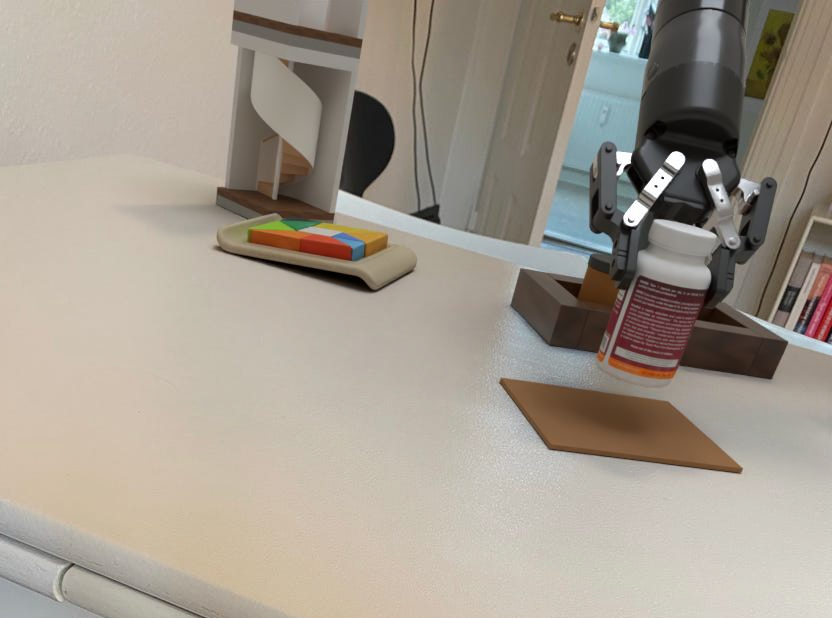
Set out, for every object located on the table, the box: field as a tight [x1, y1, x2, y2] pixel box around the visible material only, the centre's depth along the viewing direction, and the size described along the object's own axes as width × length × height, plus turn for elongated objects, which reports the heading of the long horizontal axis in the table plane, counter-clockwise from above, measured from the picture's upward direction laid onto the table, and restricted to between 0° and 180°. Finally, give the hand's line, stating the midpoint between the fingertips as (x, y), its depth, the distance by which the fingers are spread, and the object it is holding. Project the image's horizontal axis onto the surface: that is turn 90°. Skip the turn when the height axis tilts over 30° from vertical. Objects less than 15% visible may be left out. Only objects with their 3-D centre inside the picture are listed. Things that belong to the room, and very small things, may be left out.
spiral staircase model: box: [215, 0, 370, 224], centre depth 109 cm, size 11×11×35 cm
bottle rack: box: [510, 267, 789, 380], centre depth 98 cm, size 26×14×4 cm, turn 97°
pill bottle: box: [595, 218, 717, 389], centre depth 69 cm, size 6×6×11 cm
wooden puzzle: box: [216, 213, 418, 291], centre depth 102 cm, size 18×19×4 cm
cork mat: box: [499, 377, 744, 474], centre depth 74 cm, size 16×14×1 cm
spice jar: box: [578, 252, 619, 306], centre depth 96 cm, size 5×5×8 cm
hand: (669, 292), depth 66 cm, fingers closed on pill bottle, 6 cm apart
